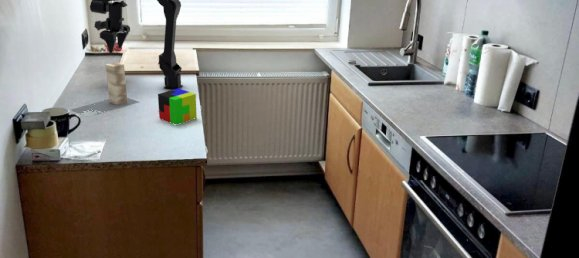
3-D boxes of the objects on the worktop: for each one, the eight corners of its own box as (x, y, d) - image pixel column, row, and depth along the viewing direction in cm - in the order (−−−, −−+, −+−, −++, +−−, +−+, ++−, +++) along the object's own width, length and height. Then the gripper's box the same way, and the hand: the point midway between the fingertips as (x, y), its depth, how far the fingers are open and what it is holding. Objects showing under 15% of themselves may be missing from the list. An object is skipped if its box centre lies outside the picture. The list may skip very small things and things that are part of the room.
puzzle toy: (179, 112, 212) (178, 88, 208) (196, 118, 206) (195, 94, 203) (159, 118, 205) (157, 94, 201) (176, 125, 199) (175, 100, 195)
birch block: (119, 99, 222) (116, 62, 216) (127, 102, 219) (123, 64, 213) (109, 102, 218) (105, 64, 212) (116, 105, 216) (113, 66, 210)
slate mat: (121, 96, 227) (121, 95, 227) (139, 103, 220) (139, 101, 220) (70, 110, 209) (70, 109, 209) (88, 118, 202) (87, 117, 202)
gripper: (107, 9, 241) (107, 43, 247) (87, 16, 224) (88, 52, 230) (130, 13, 240) (130, 46, 246) (112, 20, 223) (113, 56, 229)
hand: (115, 50), depth 238 cm, fingers open, 9 cm apart
